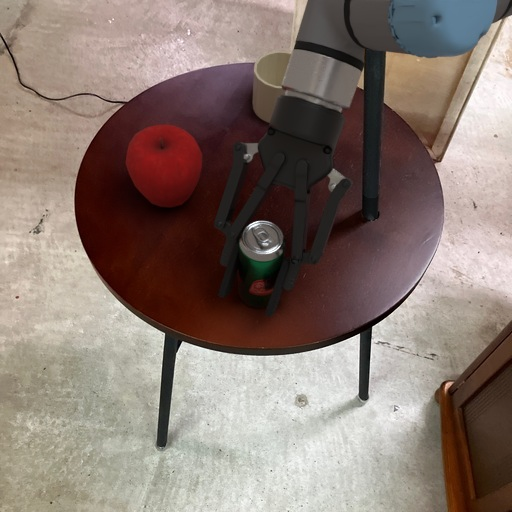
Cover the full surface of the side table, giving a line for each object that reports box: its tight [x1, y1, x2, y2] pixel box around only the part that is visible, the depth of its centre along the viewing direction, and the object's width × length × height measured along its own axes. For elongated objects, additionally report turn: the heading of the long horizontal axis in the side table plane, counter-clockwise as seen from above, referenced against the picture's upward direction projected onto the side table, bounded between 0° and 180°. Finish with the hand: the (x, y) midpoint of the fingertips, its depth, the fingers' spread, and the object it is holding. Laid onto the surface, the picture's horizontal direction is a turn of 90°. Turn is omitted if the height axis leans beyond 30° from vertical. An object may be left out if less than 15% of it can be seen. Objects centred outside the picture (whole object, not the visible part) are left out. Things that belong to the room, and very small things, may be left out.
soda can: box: [237, 220, 287, 309], centre depth 63 cm, size 5×5×12 cm
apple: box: [125, 124, 203, 208], centre depth 71 cm, size 10×10×11 cm
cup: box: [252, 50, 292, 124], centre depth 83 cm, size 8×8×7 cm
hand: (247, 303), depth 63 cm, fingers closed on soda can, 5 cm apart
